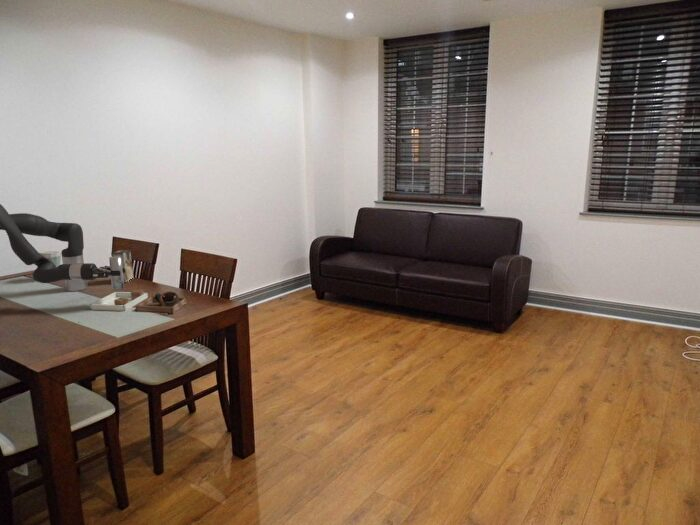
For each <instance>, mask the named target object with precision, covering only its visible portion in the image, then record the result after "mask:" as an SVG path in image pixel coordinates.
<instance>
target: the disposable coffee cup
mask: <svg viewBox="0 0 700 525" xmlns="http://www.w3.org/2000/svg"><path fill="white" fill-rule="evenodd" d="M39 253H40V254H41V255H43V256H44V257H46V258H47V259H49V260H51V261H52V262H53V263H54V264H55V266H56V267H58V266H59V265H61V260H62V254H61V252H60V251H58V250H57V251H55V250H52V251H51V250H50V251H49V250H48V251H40V252H39Z"/></svg>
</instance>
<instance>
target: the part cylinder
mask: <svg viewBox="0 0 700 525" xmlns="http://www.w3.org/2000/svg"><path fill="white" fill-rule="evenodd" d="M108 259H109V266H110V271H120V272H121V275H120V276H112V275H111V277H110V282H111V289H112V290H116V291H117V290H123V289H124V288H125V283H124V279H123V268H122V257H120V256H114V257H112V256H109V258H108Z"/></svg>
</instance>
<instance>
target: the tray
mask: <svg viewBox="0 0 700 525" xmlns="http://www.w3.org/2000/svg"><path fill="white" fill-rule="evenodd" d="M131 292H132V291H129V292H128V291H127V292H126V291H114V292H112V293H109V294H108V295H106V296H104V297H102V298H100V299H98V300H95V301H94V302H92V303H90V304H89V310H94V311H96V310H97V311H116V312H117V311H118V312H119V311H120V312H125V311H127V310H130V309H131V308H132V307H134V306H137V305H139V304H141V303H142V302H144V301H146V300H147V299H149V296H148V295H149V294H148V292H143V295H141V296H140V297H138V298H136V299H134V300H132V298H131ZM119 298H128V300H129V303H127V304H125V305H115V303H114V300H116V299H119Z"/></svg>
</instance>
